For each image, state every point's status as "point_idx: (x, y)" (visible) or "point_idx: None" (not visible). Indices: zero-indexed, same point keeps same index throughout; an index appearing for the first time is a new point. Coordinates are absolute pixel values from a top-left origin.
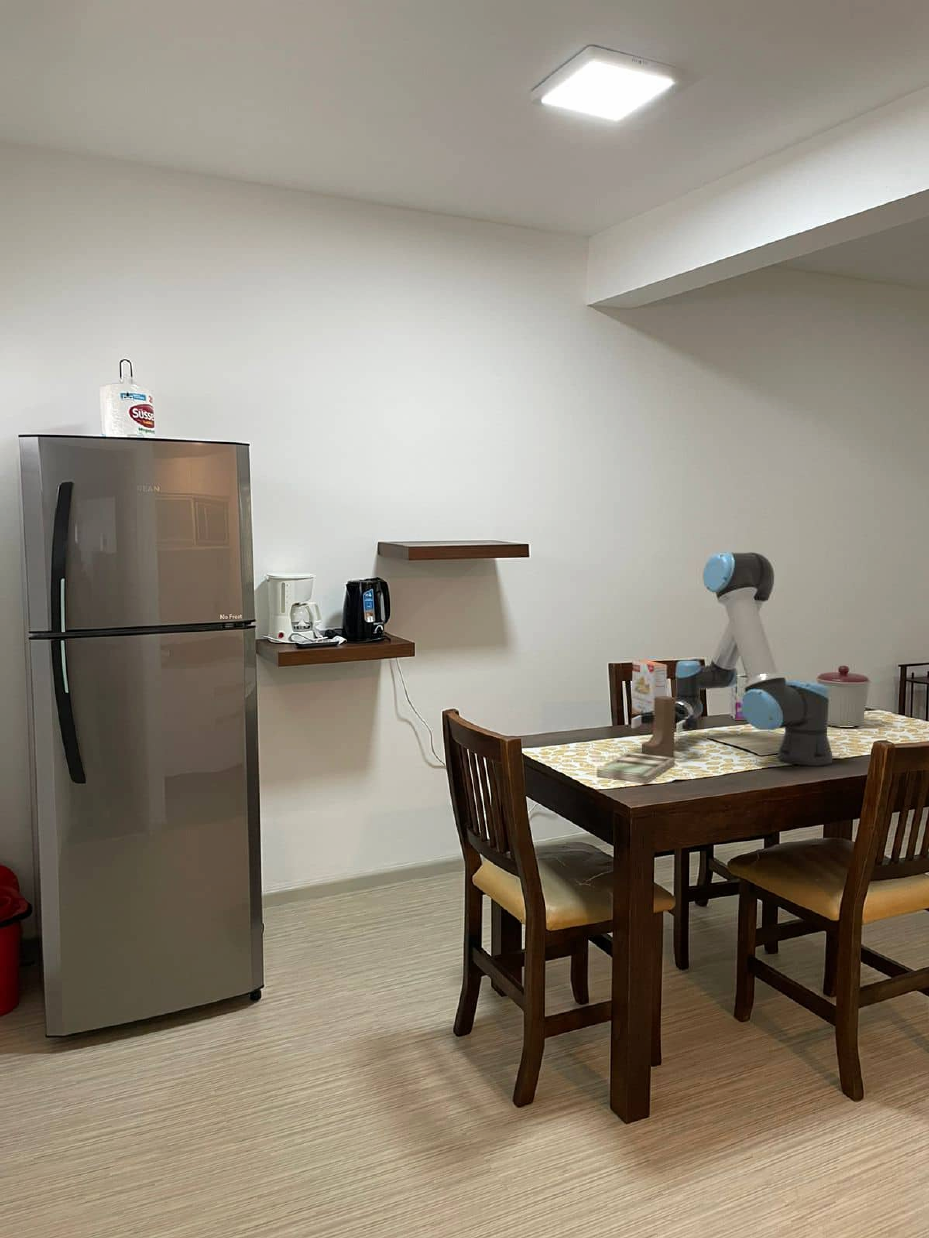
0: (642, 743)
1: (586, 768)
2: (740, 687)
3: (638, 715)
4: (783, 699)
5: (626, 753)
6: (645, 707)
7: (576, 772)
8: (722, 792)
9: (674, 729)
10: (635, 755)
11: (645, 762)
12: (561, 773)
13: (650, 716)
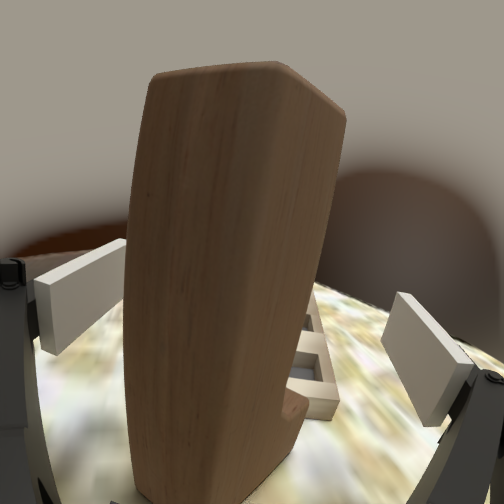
0: (306, 398)
1: (360, 328)
2: None
3: (485, 372)
4: None
5: (335, 385)
6: None
7: (355, 310)
8: (78, 255)
9: (124, 362)
10: (296, 380)
11: None
12: (370, 304)
13: (446, 451)
